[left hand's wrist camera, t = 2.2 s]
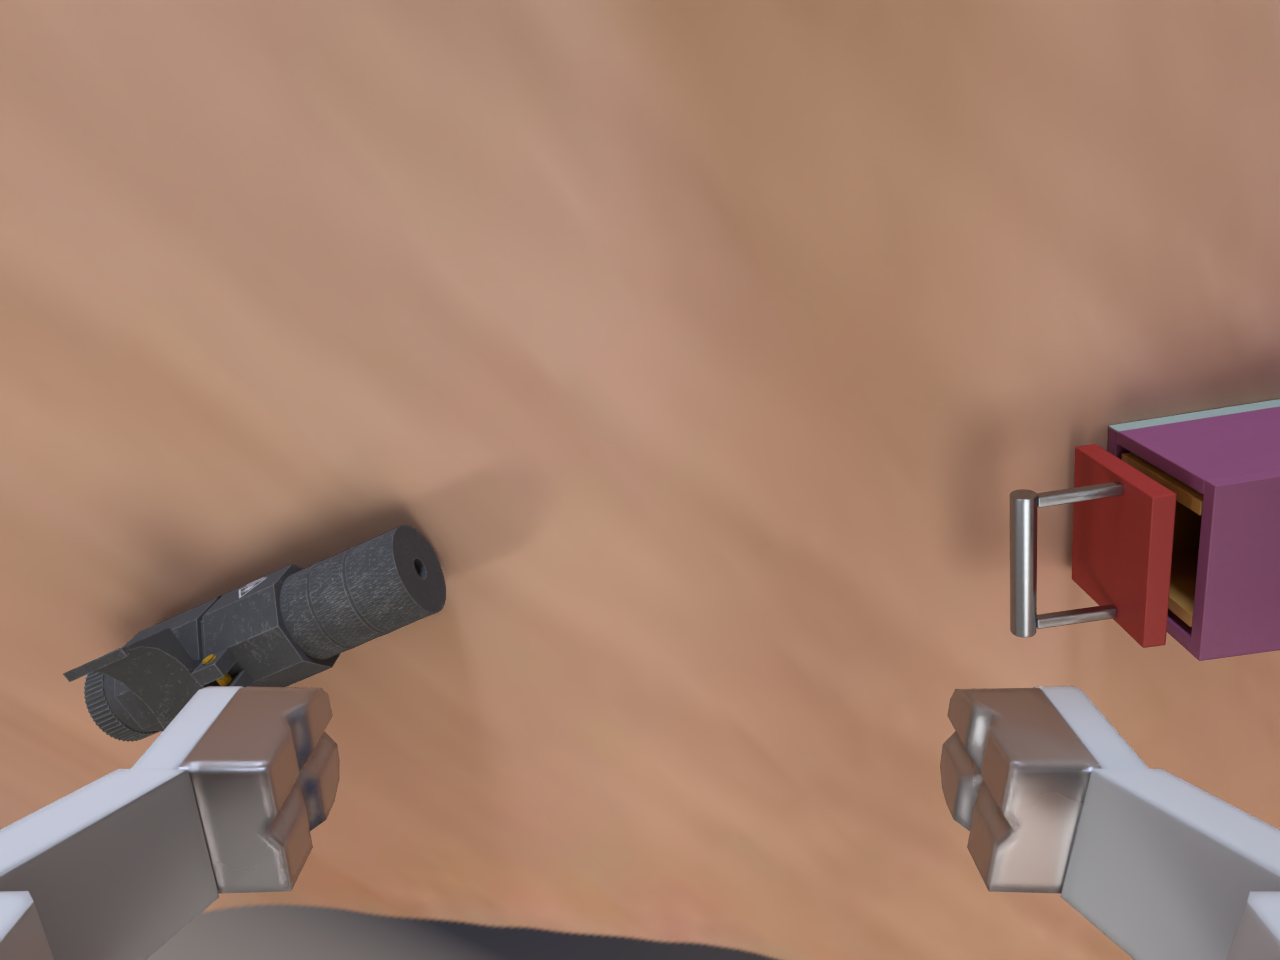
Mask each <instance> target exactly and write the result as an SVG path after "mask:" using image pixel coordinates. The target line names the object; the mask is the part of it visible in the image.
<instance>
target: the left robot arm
mask: <svg viewBox="0 0 1280 960" xmlns="http://www.w3.org/2000/svg"><path fill="white" fill-rule="evenodd" d="M331 718H332V711H331V706H330V701H329V696H328V694H327V693H326V692H325V691H324V690H323V689H322V688H294V687H242V686H209V687H206V688H203V689H200V690H198V691H197V692H196V694H195V695H194V696H193V697H192V698H191V699H190V700H189V702H188V703H187V704H186V705H185V706H184V707H183V709H182V710H181V711H180V712H179V713H178V714H177V716H176V717H175V718H174V719H173V720H172V721H171V723H170V724H169V725H168V726H167V727H166V728H165V730H164V731H163V732H162V733H161V734H160V735H159V737H158V738H157V739H156V740H155V741H154V742H153V744H152V745H151V746H150V747H149V748H148V749H147V751H146V752H145V753H144V754H143V755H142V756H141V757H140V759H139V760H138V761H137V762H136V763H135V764H134V766H133V767H132V768H131V769H117V770H115V771H113V772H111V773H109V774H107V775H105V776H104V777H102V778H100V779H98V780H96V781H94V782H92V783H90V784H88V785H86V786H84V787H82V788H80V789H78V790H76V791H74V792H72V793H71V794H69V795H67V796H65V797H63V798H61V799H59V800H57V801H55V802H53V803H51V804H49V805H47V806H45V807H43V808H41V809H39V810H38V811H36V812H34V813H32V814H30V815H28V816H26V817H24V818H22V819H20V820H18V821H16V822H14V823H12V824H10V825H8V826H6V827H5V828H3V829H1V830H0V960H146V959H147V958H149V957H150V956H151V955H152V954H153V953H154V952H156V951H157V950H158V949H159V948H160V947H161V946H163V945H164V944H165V943H166V942H167V941H168V940H170V939H171V938H172V937H173V936H174V935H175V934H177V933H178V932H179V931H180V930H181V929H182V928H184V927H185V926H186V925H187V924H188V923H189V922H191V921H192V920H193V919H194V918H195V917H197V916H198V915H199V914H200V913H201V912H202V911H204V910H205V909H206V908H207V907H208V906H209V905H211V904H212V903H213V902H214V901H215V900H216V899H218V898H219V894H218V893H247V892H281V891H292V889H293V886H294V884H295V882H296V880H297V878H298V876H299V874H300V872H301V870H302V868H303V866H304V864H305V862H306V860H307V858H308V856H309V854H310V852H311V850H312V848H313V846H312V840H311V835H310V831H311V830H312V829H314V828H315V827H317V826H318V825H319V824H321V823H322V822H323V821H325V820H326V819H327V817H328V814H329V812H330V810H331V808H332V806H333V803H334V801H335V796H336V791H337V787H338V782H339V754H338V747H337V744H336V743H335V742H334V741H333V740H332V739H331V738H330V737H329V736H328V735H327V734H326V733H325V732H324V730H325V728H326V727H327V725H328V723H329V721H330V719H331ZM948 718H949V719H950V721H951V723H952V725H953V727H954V728H955V730H956V732H955V733H954V734H953V735H952V736H951V737H950V738H949V739H948V740H947V741H946V742H945V743H944V744H943V747H942V755H941V764H940V770H941V781H942V789H943V793H944V796H945V800H946V803H947V806H948V808H949V810H950V812H951V814H952V817H953V819H954V820H955V821H957V822H958V823H959V824H961V825H962V826H963V827H965V828H966V829H968V830H969V831H970V835H969V840H968V846H967V848H968V850H969V852H970V854H971V856H972V858H973V860H974V862H975V864H976V866H977V868H978V870H979V872H980V874H981V876H982V878H983V880H984V882H985V884H986V886H987V888H988V890H989V891H997V892H1032V893H1061V897H1062V898H1063V899H1064V900H1065V901H1066V902H1067V903H1069V904H1070V905H1071V906H1072V907H1073V908H1074V909H1076V910H1077V911H1078V912H1079V913H1080V914H1081V915H1083V916H1084V917H1085V918H1086V919H1087V920H1088V921H1090V922H1091V923H1092V924H1093V925H1094V926H1096V927H1097V928H1098V929H1099V930H1100V931H1101V932H1103V933H1104V934H1105V935H1106V936H1107V937H1108V938H1110V939H1111V940H1112V941H1113V942H1114V943H1115V944H1117V945H1118V946H1119V947H1120V948H1121V949H1122V950H1124V951H1125V952H1126V953H1127V954H1128V955H1129V956H1131V957H1132V958H1133V959H1134V960H1280V830H1279V829H1277V828H1275V827H1273V826H1271V825H1269V824H1267V823H1265V822H1264V821H1262V820H1260V819H1258V818H1256V817H1254V816H1252V815H1250V814H1248V813H1246V812H1244V811H1242V810H1240V809H1238V808H1236V807H1235V806H1233V805H1231V804H1229V803H1227V802H1225V801H1223V800H1221V799H1219V798H1217V797H1215V796H1213V795H1211V794H1209V793H1207V792H1205V791H1204V790H1202V789H1200V788H1198V787H1196V786H1194V785H1192V784H1190V783H1188V782H1186V781H1184V780H1182V779H1180V778H1178V777H1176V776H1175V775H1173V774H1171V773H1169V772H1167V771H1165V770H1163V769H1149V768H1148V767H1147V766H1146V764H1145V763H1144V762H1143V761H1142V760H1141V759H1140V758H1139V756H1138V755H1137V754H1136V753H1135V752H1134V751H1133V749H1132V748H1131V747H1130V746H1129V745H1128V744H1127V742H1126V741H1125V740H1124V739H1123V738H1122V737H1121V735H1120V734H1119V733H1118V732H1117V731H1116V730H1115V728H1114V727H1113V726H1112V725H1111V724H1110V723H1109V721H1108V720H1107V719H1106V718H1105V717H1104V716H1103V715H1102V713H1101V712H1100V711H1099V710H1098V709H1097V708H1096V706H1095V705H1094V704H1093V703H1092V702H1091V701H1090V699H1089V698H1088V697H1087V696H1086V695H1085V694H1084V692H1083V691H1082V690H1080V689H1078V688H1076V687H1074V686H1051V687H1033V688H997V689H955V691H954V693H953V695H952V697H951V699H950V704H949V710H948Z"/></svg>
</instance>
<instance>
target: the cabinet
mask: <svg viewBox="0 0 1280 960" xmlns="http://www.w3.org/2000/svg"><path fill="white" fill-rule="evenodd" d="M1108 428H1109V436H1108V452H1109V453H1111V454H1112V455H1114V456H1116V457H1117V458H1119V459H1121V460H1122V454H1123V453H1130V452H1132V453H1134V454H1135V455H1137V456H1139V457H1140V458H1142V459H1144V460H1145V461H1147V462H1149V463H1151V464H1152V465H1154V466H1156V467H1157V468H1159V469H1161V470H1162V471H1164V472H1166V473H1167V474H1169V475H1171V476H1173V477H1174V478H1176V479H1178V480H1179V481H1181V482H1183V483H1184V484H1186V485H1188V486H1190V487H1191V488H1193V489H1195V490H1196V491H1198V492H1200V493H1201V494H1204V496H1203V508H1202V519H1201V530H1200V542H1199V553H1198V565H1197V576H1196V587H1195V599H1194V610H1193V622H1192V627H1190V626H1188V625H1187V624H1186V623H1185V622H1184V621H1183V620H1181V619H1180V618H1179V617H1178V616H1177V615H1175V614H1174V613H1173V612H1172V611H1171V610H1170V609H1168V617H1167V630H1166V631H1167V632H1168V633H1169V634H1170V635H1171V636H1172V637H1173V638H1174V639H1176V640H1177V641H1178V642H1179V643H1180V644H1181V645H1182V646H1183V647H1185V648H1186V649H1187V650H1188V651H1189V652H1190V653H1191V654H1192V655H1193V656H1194V657H1196V658H1197V659H1198V660H1199V661H1202V660H1210V659H1217V658H1224V657H1232V656H1239V655H1246V654H1254V653H1261V652H1268V651H1276V650H1280V399H1277V400H1270V401H1264V402H1258V403H1251V404H1245V405H1238V406H1232V407H1225V408H1219V409H1213V410H1206V411H1200V412H1193V413H1187V414H1180V415H1174V416H1167V417H1161V418H1155V419H1148V420H1142V421H1135V422H1129V423H1122V424H1116V425H1109V426H1108Z"/></svg>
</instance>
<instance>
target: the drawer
mask: <svg viewBox="0 0 1280 960" xmlns="http://www.w3.org/2000/svg"><path fill="white" fill-rule="evenodd" d="M1203 496H1204V494H1201V493H1200V492H1198V491H1196V490H1195V489H1193V488H1191V487H1190V486H1188V485H1186V484H1184V483H1183V482H1181V481H1179V480H1178V479H1176V478H1174V477H1173V476H1171V475H1169V474H1167V473H1166V472H1164V471H1162V470H1161V469H1159V468H1157V467H1156V466H1154V465H1152V464H1151V463H1149V462H1147V461H1145V460H1144V459H1142V458H1140V457H1139V456H1137V455H1135V454H1134V453H1132V452H1130V453H1123V454H1122V460H1121V459H1119V458H1117V457H1116V456H1114V455H1112V454H1111V453H1109V452H1108V451H1106V450H1104V449H1103V448H1101V447H1100V446H1098V445H1096V444H1091V445H1085V446H1078V447H1075V475H1074V488H1070V489H1063V490H1057V491H1050V492H1043V493H1036V492H1034V491H1031V490H1015V491H1013V492H1011V493H1010V630H1011V632H1012V634H1014V635H1016V636H1018V637H1031V636H1034V635H1035V634H1036V627H1037V628H1038V629H1041V628H1048V627H1055V626H1062V625H1069V624H1076V623H1083V622H1091V621H1098V620H1105V619H1112V618H1113V619H1114V620H1115V621H1116V622H1117V623H1118V624H1119V625H1120V626H1121V627H1122V628H1123V629H1124V630H1125V631H1126V632H1127V633H1128V634H1129V635H1131V636H1132V637H1133V638H1134V639H1135V640H1136V641H1137V642H1138V643H1139V644H1140V645H1141V646H1142V647H1143V648H1146V647H1153V646H1160V645H1165V643H1166V630H1167V617H1168V609H1170V610H1171V611H1172V612H1173V613H1174V614H1175V615H1177V616H1178V617H1179V618H1180V619H1181V620H1183V621H1184V622H1185V623H1186V624H1187V625H1188V626H1190V627H1192V622H1193V610H1194V599H1195V587H1196V576H1197V565H1198V553H1199V542H1200V530H1201V519H1202V508H1203ZM1073 502H1074V514H1073V554H1072V579H1073V580H1074V581H1075V582H1076V583H1077V584H1078V585H1079V586H1080V587H1081V588H1082V589H1083V590H1084V591H1085V592H1086V593H1087V594H1088V595H1089V596H1090V597H1091V598H1092V599H1093V600H1094V601H1095V602H1096V603H1097V604H1098V605H1099V606H1096V607H1089V608H1082V609H1075V610H1068V611H1061V612H1054V613H1047V614H1040V615H1036V602H1037V506H1038V507H1046V506H1053V505H1059V504H1066V503H1073Z"/></svg>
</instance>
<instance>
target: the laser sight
mask: <svg viewBox="0 0 1280 960" xmlns="http://www.w3.org/2000/svg"><path fill="white" fill-rule="evenodd" d="M445 600H446V586H445V580H444V576H443V572H442V569H441V566H440V564H439V561H438V559H437V557H436V555H435V553H434V551H433V549H432V548H431V546H430V545H429V543H428V542H427V540H426V539H425V538H424V537H423V536H422V535H421V534H420V533H419V532H418V531H417V530H416V529H414V528H412V527H411V526H408V525H401V526H399V527H397V528H395V529H393V530H391V531H389V532H386V533H384V534H382V535H380V536H377V537H375V538H373V539H370V540H368V541H366V542H364V543H361V544H359V545H356V546H354V547H352V548H349V549H348V550H345V551H343V552H341V553H339V554H337V555H334V556H332V557H330V558H327V559H325V560H322V561H320V562H318V563H316V564H314V565H312V566H310V567H307V568H305V569H303V568H300V567H297V566H295V565H292V564H291V565H289V566H287V567H284V568H282V569H280V570H278V571H275V572H273V573H271V574H269V575H266V576H264V577H262V578H260V579H257V580H255V581H253V582H251V583H248V584H246V585H244V586H242V587H239V588H237V589H235V590H233V591H230V592H228V593H226V594H224V595H222V596H219V597H217V598H215V599H213V600H210V601H208V602H206V603H204V604H201V605H199V606H197V607H195V608H192V609H190V610H188V611H186V612H183V613H181V614H179V615H177V616H174V617H172V618H170V619H168V620H165V621H163V622H161V623H159V624H157V625H154V626H152V627H150V628H148V629H145V630H143V631H141V632H139V633H138V634H136V635H135V636H134V637H133V638H132V639H131V640H130V641H129V642H128V643H127V644H126V645H125V646H124V647H122V648H119V649H117V650H115V651H113V652H110V653H108V654H106V655H104V656H102V657H100V658H97V659H95V660H93V661H91V662H88V663H86V664H84V665H82V666H79V667H77V668H75V669H73V670H70V671H68V672H66V673H64V674H63V675H64V676H65V677H66V678H67V680H68V681H69V682H71V681H73V680H75V679H77V678H80V677H82V676H84V675H87V677H86V682H85V687H84V689H85V691H84V694H85V697H84V698H85V699H86V701H85V703H86V704H87V708H88V712H89V713H90V717H92V718H93V721H94V722H96V725H98V726H99V729H102V731H103V732H106V734H107V735H110V737H114V738H115V739H118V740H123V741H137V740H141V739H143V738H146V737H148V736H150V735H153V734H155V733H157V732H160V731H164V730H165V728H166V727H167V726H168V725H169V724H170V723H171V721H172V720H173V719H174V718H175V717H176V716H177V714H178V713H179V712H180V711H181V710H182V709H183V707H184V706H185V705H186V704H187V703H188V702H189V700H190V699H191V698H192V697H193V696H194V695H195V694H196V692H197V691H198V690H200V689H203V688H206V687H209V686H242V687H286V686H289V685H291V684H293V683H296V682H298V681H300V680H303V679H305V678H308V677H310V676H312V675H315V674H317V673H320V672H322V671H324V670H327V669H329V668H332V666H333V665H334V663H335V662H336V660H337V658H338V657H339V655H340V653H342V652H344V651H347V650H349V649H352V648H354V647H357V646H359V645H361V644H363V643H365V642H368V641H370V640H372V639H375V638H377V637H380V636H382V635H385V634H388V633H390V632H392V631H395V630H397V629H399V628H401V627H403V626H406V625H408V624H410V623H413V622H415V621H417V620H420V619H422V618H425V617H427V616H430V615H432V614H435V613H437V612H439V611H441V610H442V608H443V607H444V604H445Z"/></svg>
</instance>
